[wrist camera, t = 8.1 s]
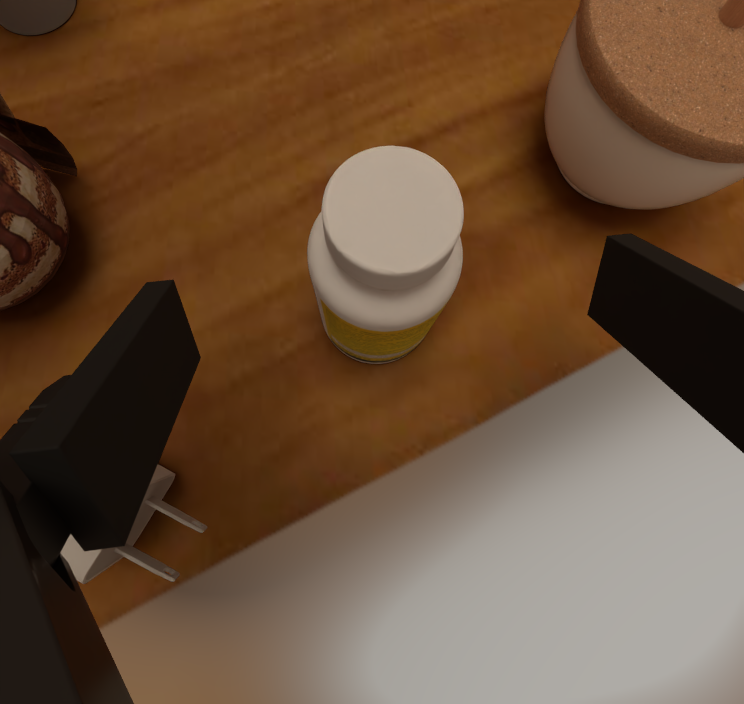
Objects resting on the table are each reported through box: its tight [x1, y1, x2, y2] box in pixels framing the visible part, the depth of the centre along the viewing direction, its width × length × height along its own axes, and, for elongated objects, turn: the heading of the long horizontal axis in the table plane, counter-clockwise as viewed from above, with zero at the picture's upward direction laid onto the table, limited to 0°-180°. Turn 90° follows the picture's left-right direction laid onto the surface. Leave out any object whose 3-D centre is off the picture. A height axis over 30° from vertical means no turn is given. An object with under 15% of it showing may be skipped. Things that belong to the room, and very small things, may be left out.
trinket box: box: [544, 0, 744, 209], centre depth 19 cm, size 11×11×9 cm
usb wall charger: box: [61, 465, 207, 584], centre depth 17 cm, size 4×7×4 cm, turn 61°
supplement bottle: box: [307, 146, 464, 364], centre depth 16 cm, size 5×5×10 cm
